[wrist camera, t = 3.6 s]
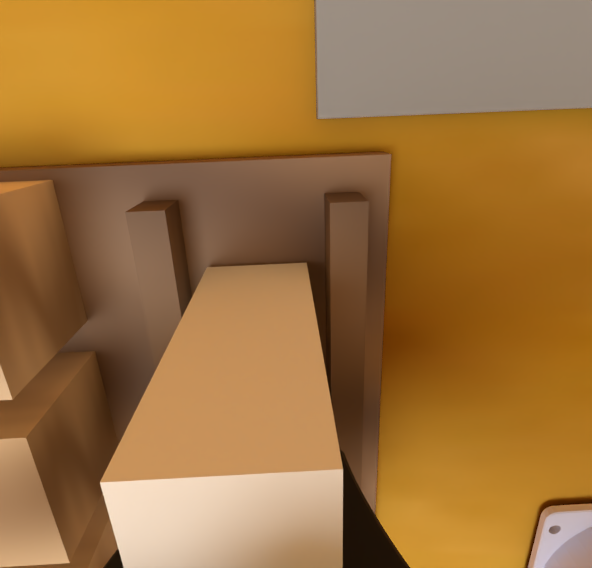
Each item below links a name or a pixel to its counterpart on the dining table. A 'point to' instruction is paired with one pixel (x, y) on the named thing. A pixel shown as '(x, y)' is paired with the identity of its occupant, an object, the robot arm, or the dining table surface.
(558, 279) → the dining table surface
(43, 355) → the offcut
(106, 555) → the offcut
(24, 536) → the block
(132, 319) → the rack
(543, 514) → the robot arm
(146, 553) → the cream rectangular block
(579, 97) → the mat
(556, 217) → the dining table surface
